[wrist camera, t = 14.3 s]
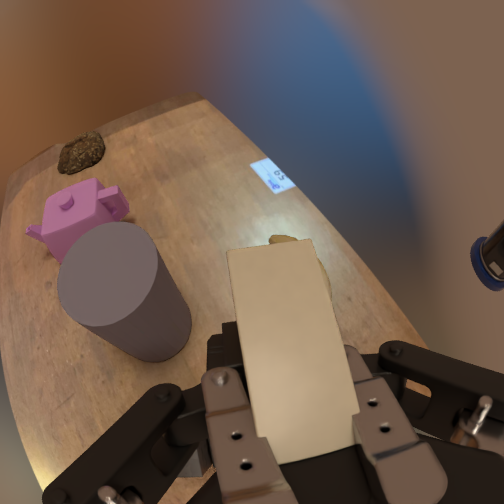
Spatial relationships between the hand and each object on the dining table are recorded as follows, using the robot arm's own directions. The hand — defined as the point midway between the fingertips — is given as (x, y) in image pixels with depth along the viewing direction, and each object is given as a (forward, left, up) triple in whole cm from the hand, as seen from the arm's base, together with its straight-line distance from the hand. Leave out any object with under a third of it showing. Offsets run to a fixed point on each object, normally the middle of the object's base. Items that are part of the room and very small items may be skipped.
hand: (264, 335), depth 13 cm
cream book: (0, +2, -5) cm, 5 cm away
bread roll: (+32, -50, -22) cm, 63 cm away
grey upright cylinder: (+12, -9, -22) cm, 26 cm away
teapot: (+24, -25, -22) cm, 41 cm away
